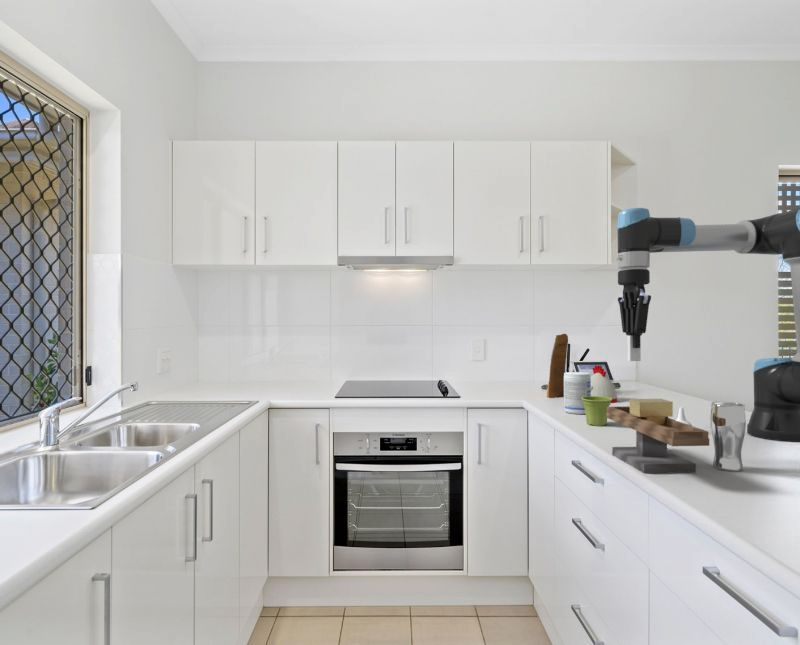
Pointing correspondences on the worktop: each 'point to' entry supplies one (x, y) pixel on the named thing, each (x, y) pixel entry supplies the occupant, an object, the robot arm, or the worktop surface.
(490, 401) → the worktop surface
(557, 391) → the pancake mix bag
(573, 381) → the supplement tub
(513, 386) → the worktop surface
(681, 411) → the garlic bulb
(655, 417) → the brass rider
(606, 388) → the kitchen timer
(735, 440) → the beer glass
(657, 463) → the balance beam
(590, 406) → the plant pot
